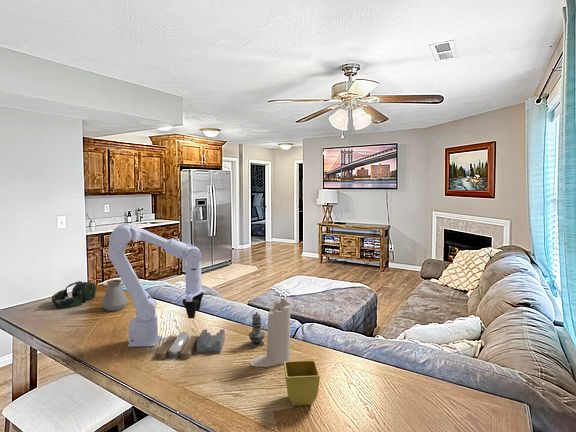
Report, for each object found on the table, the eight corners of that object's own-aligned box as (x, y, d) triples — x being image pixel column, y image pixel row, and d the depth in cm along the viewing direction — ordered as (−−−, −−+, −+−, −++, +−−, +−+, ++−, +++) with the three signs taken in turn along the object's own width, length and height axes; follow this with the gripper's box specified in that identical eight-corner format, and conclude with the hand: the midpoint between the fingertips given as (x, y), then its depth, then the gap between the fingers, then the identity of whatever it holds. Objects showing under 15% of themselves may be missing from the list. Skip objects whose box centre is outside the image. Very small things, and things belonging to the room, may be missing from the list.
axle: (179, 358, 121) (180, 346, 121) (167, 357, 121) (168, 346, 121) (188, 342, 133) (189, 332, 133) (177, 342, 133) (178, 331, 133)
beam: (156, 359, 120) (156, 353, 120) (169, 340, 134) (168, 336, 134) (189, 358, 120) (189, 353, 120) (199, 340, 134) (198, 335, 134)
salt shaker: (262, 348, 128) (262, 315, 127) (246, 346, 130) (246, 313, 128) (266, 341, 134) (266, 309, 133) (251, 339, 135) (251, 308, 134)
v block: (196, 353, 124) (196, 341, 124) (203, 340, 134) (202, 329, 134) (220, 352, 125) (220, 341, 124) (224, 340, 134) (224, 329, 134)
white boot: (246, 360, 120) (245, 300, 118) (284, 352, 125) (284, 295, 123) (252, 370, 113) (252, 307, 111) (293, 361, 118) (293, 301, 117)
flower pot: (283, 391, 101) (283, 360, 100) (314, 390, 102) (314, 359, 101) (286, 411, 93) (286, 377, 92) (320, 409, 93) (320, 376, 93)
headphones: (75, 284, 189) (41, 302, 170) (87, 268, 184) (54, 285, 165) (93, 302, 189) (61, 322, 170) (106, 287, 184) (75, 305, 165)
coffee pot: (112, 314, 161) (111, 281, 160) (95, 310, 167) (94, 278, 165) (150, 301, 180) (150, 271, 179) (135, 297, 185) (134, 268, 184)
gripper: (199, 284, 129) (200, 321, 130) (208, 274, 143) (208, 308, 144) (179, 284, 129) (180, 321, 130) (190, 274, 143) (190, 307, 144)
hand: (193, 314), depth 137 cm, fingers open, 7 cm apart
